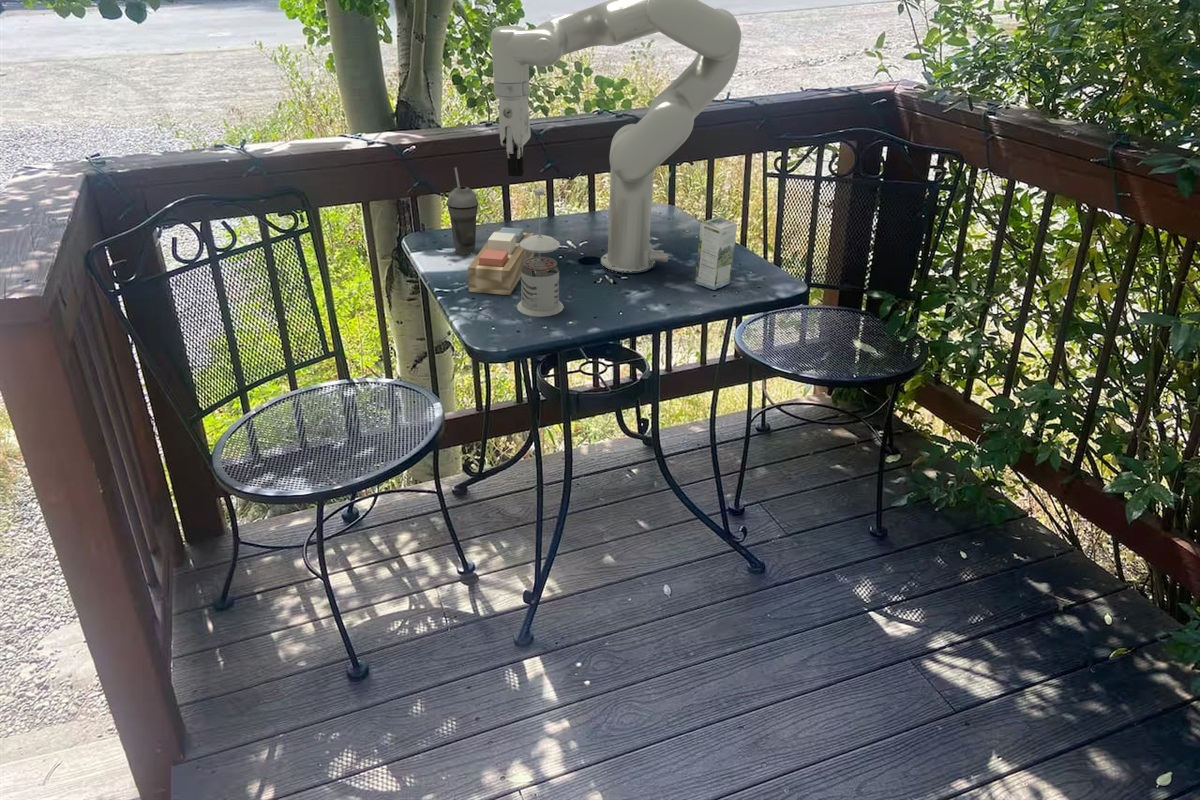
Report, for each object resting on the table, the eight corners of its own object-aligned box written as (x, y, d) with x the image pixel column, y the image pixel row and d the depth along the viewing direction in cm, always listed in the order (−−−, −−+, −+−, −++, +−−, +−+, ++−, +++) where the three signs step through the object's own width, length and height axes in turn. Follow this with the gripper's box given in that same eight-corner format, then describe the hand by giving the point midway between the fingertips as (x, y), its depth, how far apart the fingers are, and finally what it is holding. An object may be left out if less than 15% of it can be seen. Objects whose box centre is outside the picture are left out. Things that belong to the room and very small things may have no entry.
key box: (534, 255, 209) (533, 233, 207) (509, 295, 189) (509, 270, 186) (497, 252, 210) (496, 230, 208) (468, 291, 190) (467, 267, 187)
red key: (508, 268, 193) (507, 251, 191) (502, 277, 189) (502, 259, 187) (486, 266, 194) (485, 249, 192) (479, 275, 190) (479, 257, 188)
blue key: (523, 245, 206) (523, 228, 204) (518, 252, 202) (518, 236, 200) (502, 243, 207) (502, 227, 205) (497, 251, 203) (496, 234, 201)
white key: (516, 250, 199) (515, 233, 197) (510, 258, 195) (510, 241, 193) (494, 249, 200) (493, 232, 198) (488, 256, 196) (488, 239, 194)
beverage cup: (478, 257, 207) (474, 172, 197) (447, 256, 207) (441, 171, 197) (482, 246, 214) (479, 164, 204) (452, 245, 214) (447, 163, 204)
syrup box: (710, 277, 200) (716, 215, 193) (731, 285, 197) (737, 222, 189) (694, 284, 197) (699, 221, 189) (714, 292, 193) (721, 228, 186)
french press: (525, 319, 178) (523, 198, 166) (507, 297, 188) (504, 181, 175) (571, 312, 182) (572, 193, 169) (550, 291, 191) (550, 176, 179)
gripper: (521, 96, 181) (525, 185, 190) (536, 83, 194) (539, 166, 203) (486, 95, 182) (491, 184, 191) (502, 82, 194) (507, 165, 204)
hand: (516, 175), depth 197 cm, fingers closed
